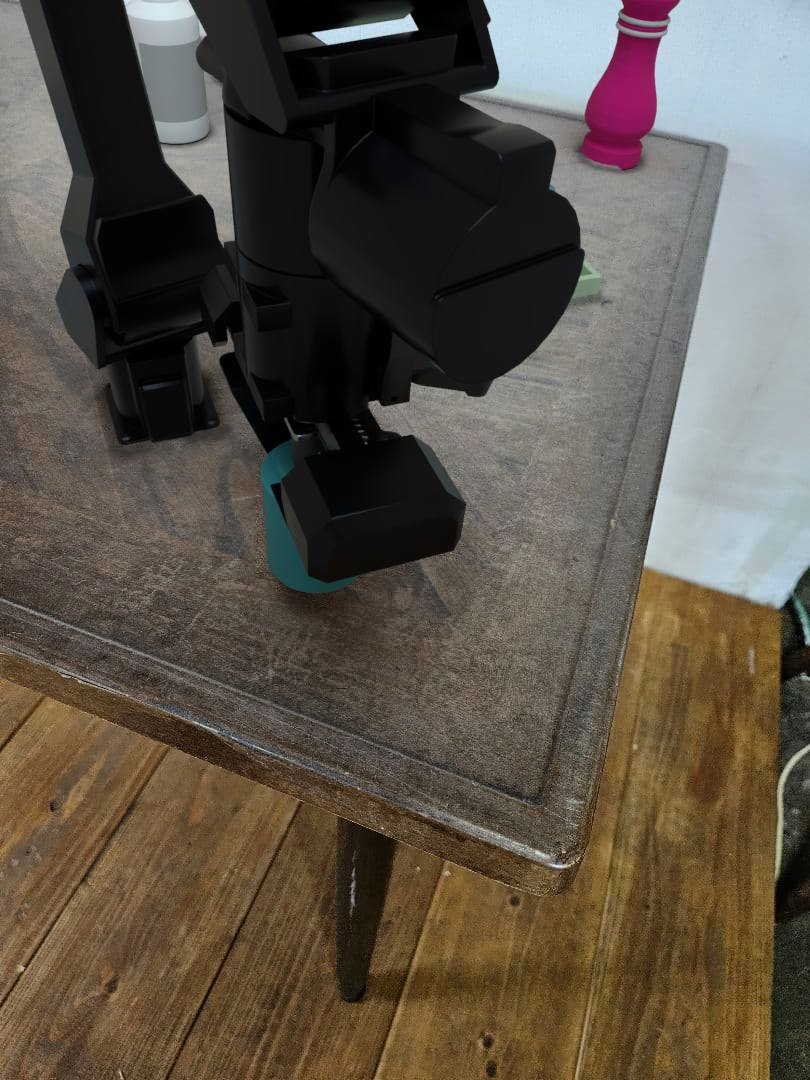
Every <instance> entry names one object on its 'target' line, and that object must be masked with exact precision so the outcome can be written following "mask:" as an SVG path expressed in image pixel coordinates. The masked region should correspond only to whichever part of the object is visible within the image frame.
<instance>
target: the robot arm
mask: <svg viewBox="0 0 810 1080" xmlns="http://www.w3.org/2000/svg"><path fill="white" fill-rule="evenodd" d="M188 1H189V2H190V4H191V6H192V8H193V10H194V12H195V14H196V15H197V17H198V20H199V24H200V25H201V27H202V29H203V30H204V32H205V34H206V35H205V36H204V37H203V38H202V39H201V43H200V44H199V45H198V46H197V48H196V60H197V63H198V65H199V66H200V68H201V69H202V70H204V73H207V74H208V75H210V76H211V77H213V78H214V79H216V80H218V81H219V82H221V83H222V89H221V97H222V99H221V100H222V103H223V104H222V106H223V107H222V108H223V109H222V110H223V119H224V130H225V144H226V156H227V164H228V165H227V167H228V176H229V177H228V178H229V188H230V190H229V191H230V200H231V201H230V202H231V212H232V224H233V234H234V236H233V237H234V240H228V241H223V244H222V242H221V240H220V239H219V232H218V229H217V228H218V227H217V222H216V216H215V211H214V208H213V207H212V205H211V204H210V202H209V201H208V200H207V198H206V197H205V196H204V195H203V194H201V193H198V194H195V193H194V192H193V191H192V190H191V188H190V187H189V186H188V185H187V184H186V183H185V182H184V181H183V179H181V177H179V175H178V174H177V173H176V172H175V171H174V170H173V169H172V168H171V166H170V165H169V164H168V163H167V161H166V159H165V156H164V153H163V149H162V148H163V147H162V144H161V142H160V141H159V137H158V133H157V129H156V125H155V121H154V117H153V113H152V109H151V105H150V101H149V97H148V93H147V90H146V86H145V82H144V78H143V74H142V70H141V66H140V62H139V58H138V54H137V50H136V46H135V42H134V38H133V35H132V31H131V27H130V23H129V19H128V15H127V11H126V7H125V5H126V4H125V0H19V4H20V7H21V11H22V14H23V16H24V20H25V23H26V26H27V30H28V33H29V35H30V39H31V42H32V45H33V50H34V51H35V55H36V58H37V62H38V64H39V68H40V70H41V74H42V78H43V80H44V83H45V87H46V91H47V93H48V96H49V100H50V104H51V107H52V109H53V113H54V115H55V118H56V123H57V125H58V128H59V131H60V135H61V138H62V142H63V144H64V147H65V151H66V154H67V157H68V160H69V164H70V167H71V172H72V175H71V180H70V184H69V188H68V193H67V197H66V201H65V205H64V209H63V215H62V218H61V222H60V227H59V233H60V237H61V241H62V244H63V249H64V251H65V255H66V258H67V262H68V265H69V268H66V269H65V270H64V273H63V276H62V279H61V281H60V283H59V286H58V289H57V291H56V294H55V297H54V300H55V304H56V307H57V309H58V312H59V315H60V318H61V320H62V323H63V326H64V329H65V331H66V333H67V334H68V336H69V337H70V339H71V340H72V341H73V342H74V343H75V344H76V346H77V347H78V348H79V349H80V351H82V353H83V354H84V355H85V356H86V358H87V359H88V360H89V361H90V363H91V365H93V366H94V368H95V369H96V370H101V369H104V368H106V372H107V377H108V381H109V382H108V383H106V384H104V387H103V388H104V392H105V396H106V400H107V401H106V402H107V405H108V408H109V412H110V416H111V420H112V424H113V428H114V432H115V435H116V439H117V442H118V443H119V444H120V445H122V446H123V445H124V446H126V445H132V444H137V443H143V442H148V441H157V440H164V439H168V438H174V437H178V436H184V435H189V434H192V433H194V432H200V431H205V430H210V429H215V428H218V427H219V426H220V425H221V420H220V417H219V414H218V412H217V409H216V406H215V404H214V402H213V399H212V396H211V393H210V391H209V389H208V386H207V383H206V380H205V377H204V376H203V373H202V367H201V360H200V352H199V344H198V337H197V336H200V335H202V334H206V333H207V334H208V337H209V340H210V342H211V344H212V348H218V347H225V346H227V345H228V342H229V337H230V339H231V341H232V345H233V351H229V352H226V353H224V354H222V355H221V356H220V357H219V359H218V362H219V366H220V367H221V371H222V373H223V376H224V378H225V381H226V384H227V386H228V387H229V388H228V389H229V390H230V393H231V395H232V397H233V398H234V400H235V401H236V403H237V405H238V407H239V408H240V410H241V412H242V413H243V415H244V417H245V419H246V421H247V422H248V424H249V425H250V427H251V429H252V431H253V433H254V434H255V436H256V438H257V439H258V441H259V442H260V444H261V446H262V449H263V450H264V451H265V453H266V456H267V455H268V454H269V453H270V452H271V451H272V450H273V449H274V448H276V447H277V446H279V445H280V444H282V443H284V442H286V441H289V440H291V435H292V437H293V439H294V440H295V441H297V442H303V441H308V440H312V439H314V438H316V437H318V435H319V437H320V439H321V441H322V443H323V445H324V447H325V449H326V451H322V452H319V453H318V454H315V455H311V456H306V457H303V458H302V459H301V460H300V461H299V462H298V463H297V464H296V465H295V466H294V467H293V468H292V469H291V470H290V471H289V472H288V473H287V474H286V475H285V476H284V477H283V478H282V479H281V482H280V483H275V484H271V485H270V487H271V490H272V492H273V495H274V497H275V500H276V502H277V504H278V507H279V509H280V512H281V514H282V517H283V519H284V521H285V524H286V526H287V528H288V530H289V531H290V533H291V536H292V538H293V541H294V543H295V545H296V548H297V550H298V553H299V555H300V558H301V560H302V562H303V565H304V567H305V570H306V572H307V574H308V576H309V577H312V578H315V579H317V580H320V581H322V582H325V583H331V582H335V581H339V580H343V579H347V578H350V577H354V576H358V575H359V576H362V575H366V574H369V573H373V572H377V571H381V570H384V569H390V568H392V567H397V566H400V565H405V564H408V563H409V564H410V563H412V562H416V561H420V560H423V559H428V558H432V557H435V556H436V557H437V556H439V555H444V554H446V553H450V552H454V551H455V550H456V547H457V545H458V543H459V541H460V540H461V538H462V533H463V528H464V527H463V526H464V521H465V516H466V509H467V506H468V505H467V502H466V501H465V499H464V498H463V496H462V494H461V493H460V491H459V489H458V487H457V486H456V485H455V483H454V481H453V480H452V478H451V476H450V475H449V473H448V472H447V470H446V469H445V467H444V466H443V464H442V462H441V460H440V459H439V457H438V456H437V454H436V452H435V451H434V449H433V447H431V446H430V445H429V444H427V443H425V442H424V441H422V440H421V439H420V438H418V437H417V436H415V435H414V434H407V435H401V434H400V433H398V432H395V431H390V430H384V429H382V427H381V426H380V425H379V422H378V421H377V419H376V417H375V416H374V414H373V412H372V411H371V409H370V407H369V403H371V402H377V401H378V403H379V405H380V407H389V406H395V405H400V404H405V403H409V402H410V400H411V389H412V384H414V385H417V386H422V387H426V388H436V389H441V390H449V391H457V392H463V393H465V394H466V395H467V397H471V398H482V397H485V396H486V395H487V394H488V391H489V390H490V388H491V386H492V384H493V382H494V381H495V380H496V379H499V378H500V377H503V376H504V375H506V374H508V373H509V372H510V371H512V370H513V369H515V368H517V367H518V366H520V365H521V364H522V363H523V362H524V361H525V360H527V359H528V358H529V357H531V355H532V354H533V353H534V352H535V351H537V349H538V348H539V347H540V346H541V345H542V344H543V343H544V341H545V340H546V339H547V338H548V337H549V336H550V334H552V332H553V330H554V329H555V328H556V326H557V324H558V323H559V321H560V320H561V318H563V315H564V314H565V313H566V310H567V308H568V306H569V304H570V302H571V300H572V299H573V298H572V296H573V294H574V292H575V289H576V286H577V283H578V280H579V278H580V275H581V272H582V267H583V262H584V259H585V257H586V251H585V249H584V248H582V247H581V246H582V245H581V224H580V221H579V218H578V214H577V211H576V209H575V208H574V207H573V205H572V203H571V202H570V201H569V199H568V198H567V197H565V196H564V195H562V194H560V193H559V192H557V191H556V192H555V191H553V190H551V189H550V188H549V187H550V184H551V183H552V182H551V181H552V177H553V172H554V167H555V162H556V156H557V148H556V145H555V142H554V140H553V139H551V138H550V137H547V136H545V135H543V134H542V133H540V132H538V131H536V130H534V129H532V128H530V127H528V126H526V125H523V124H521V123H512V122H506V121H505V122H504V121H502V120H499V119H497V118H495V117H494V116H491V115H489V114H488V113H486V112H484V111H482V110H480V109H478V108H476V107H474V106H473V105H471V104H469V103H467V102H465V101H463V100H462V99H461V96H465V95H470V94H474V93H480V92H484V91H488V90H493V89H495V87H497V85H498V83H499V80H500V69H499V65H498V62H497V57H496V54H495V50H494V46H493V45H494V44H493V42H492V38H491V34H490V31H489V26H488V25H489V24H490V23H491V22H492V18H491V16H490V13H489V11H488V8H487V5H486V3H485V0H188ZM409 15H410V16H411V18H412V20H413V22H414V24H415V26H416V28H417V29H416V30H410V31H405V32H397V33H393V34H392V33H391V34H386V35H380V36H375V37H368V38H367V37H366V38H362V39H357V40H350V41H344V42H337V43H331V44H328V43H325V42H324V41H323V40H321V39H320V38H319V37H317V36H316V35H315V34H314V33H320V32H326V31H334V30H340V29H346V28H353V27H359V26H364V25H373V24H378V23H385V22H390V21H398V20H404V19H405V18H406V17H408V16H409ZM228 334H229V335H228ZM210 422H214V423H210ZM124 438H128V439H126V440H124ZM359 576H358V577H359Z"/></svg>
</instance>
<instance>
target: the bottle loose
mask: <svg viewBox="0 0 810 1080" xmlns="http://www.w3.org/2000/svg"><path fill="white" fill-rule="evenodd" d="M322 451H326V449H325V447H324V445H323V443H322V441H321V439H320V437H319V435H318V437H316V438H314V439H312V440H308V441H303V442H297V441H295V440H294V439H293V437H292V435H291V440H289V441H286V442H284V443H282V444H280V445H279V446H277V447H276V448H274V449H273V450H272V451H271V452H270V453H269V454H268V455H267V454H266V457H265V458H264V459H263V462H262V463H261V467H260V483H261V496H262V509H263V520H264V521H263V522H264V533H265V535H264V536H265V545H266V546H265V547H266V557H267V563H268V567H269V569H270V572H272V574H273V576H274V577H275V578H276V579H277V580H278V581H279V582H281V584H284V585H285V586H286V587H288V588H290V589H293V590H295V591H298V592H303V593H308V594H309V593H310V594H326V593H330V592H335V591H338V590H341V589H343V588H345V587H347V586H348V585H351V584H352V583H353V582H354V581H356V579H357V578H359V576H360V575H358V576H354V577H350V578H347V579H343V580H339V581H335V582H331V583H325V582H322V581H320V580H317V579H315V578H312V577H309V576H308V574H307V572H306V570H305V567H304V565H303V562H302V560H301V558H300V555H299V553H298V550H297V548H296V545H295V543H294V541H293V538H292V536H291V533H290V531H289V530H288V528H287V526H286V524H285V521H284V519H283V517H282V514H281V512H280V509H279V507H278V504H277V502H276V500H275V497H274V495H273V492H272V490H271V487H270V485H271V484H275V483H280V482H281V479H282V478H283V477H284V476H285V475H286V474H287V473H288V472H289V471H290V470H291V469H292V468H293V467H294V466H295V465H296V464H297V463H298V462H299V461H300V460H301V459H302V458H303V457H306V456H311V455H315V454H318V453H319V452H322Z"/></svg>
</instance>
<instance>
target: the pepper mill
mask: <svg viewBox="0 0 810 1080" xmlns="http://www.w3.org/2000/svg"><path fill="white" fill-rule="evenodd" d="M620 1H621V3H622V7H623V8H621V9H620V10H618V13H617V16H618V18H617V21H616V22H615V28H616V29H617V30H618V32H617V38H616V43H615V47H614V50H613V53H612V56H611V58H610V61H609V63H608V65H607V67H606V69H605V71H603V74H602V75H601V77H600V79H599V80H598V82H596V84H595V86H594V88H593V89H592V92H591V94H590V95H589V98H588V100H587V103H586V107H585V110H584V121H585V123H586V125H587V127H588V129H589V131H588V132H587V133H585V135H584V137H583V141H582V146H581V150H580V153H582V154H583V155H584V156H585V157H586V158H587V159H588V160H591V161H593V162H595V163H598V164H602V165H606V166H611V167H617V168H619V169H620V170H628V169H629V170H630V169H632V168H634V167H636V166H637V165H638V164H639V162H640V159H641V157H642V152H643V147H644V144H643V143H642V141H641V140H642V139H643V138H644V137H646V136H647V135H648V134H649V133H650V132H651V131H652V130H653V127H654V126H655V122H656V117H657V113H658V97H657V96H658V95H657V87H656V86H657V85H656V61H657V56H658V49H659V47H660V44H661V41H662V38H663V37H664V36H666V35H667V34H668V32H669V29H668V27H669V24H670V23H671V21H672V18H671V17H670V15H669V14H670V13H671V12H672V11H673V10H674V9H675V8H677V6H678V5H679V3H681V0H620Z"/></svg>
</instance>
